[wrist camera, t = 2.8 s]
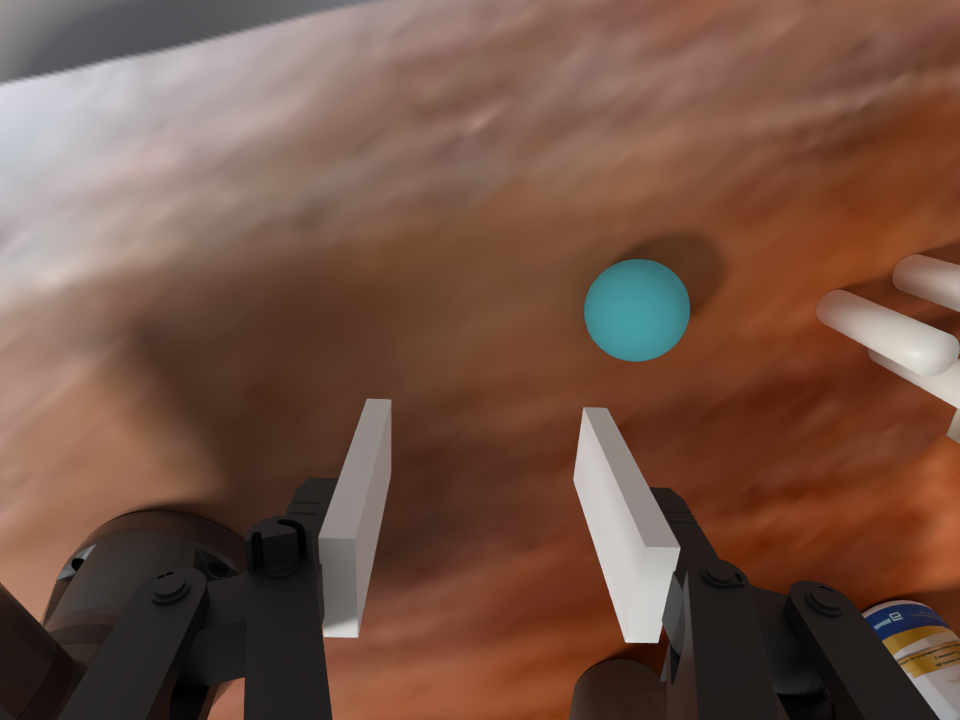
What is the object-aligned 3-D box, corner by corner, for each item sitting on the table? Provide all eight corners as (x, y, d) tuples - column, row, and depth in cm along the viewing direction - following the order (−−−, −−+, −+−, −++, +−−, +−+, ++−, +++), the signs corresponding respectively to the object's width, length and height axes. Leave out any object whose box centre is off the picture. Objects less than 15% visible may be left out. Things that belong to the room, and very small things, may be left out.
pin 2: (897, 363, 39) (1008, 423, 31) (862, 362, 39) (966, 421, 31) (909, 330, 38) (1027, 383, 30) (874, 328, 38) (983, 381, 30)
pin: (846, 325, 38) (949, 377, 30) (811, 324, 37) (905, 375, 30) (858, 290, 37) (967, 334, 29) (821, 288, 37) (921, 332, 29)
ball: (660, 343, 38) (694, 380, 32) (570, 339, 37) (589, 375, 32) (677, 252, 35) (717, 275, 30) (581, 247, 35) (604, 269, 29)
